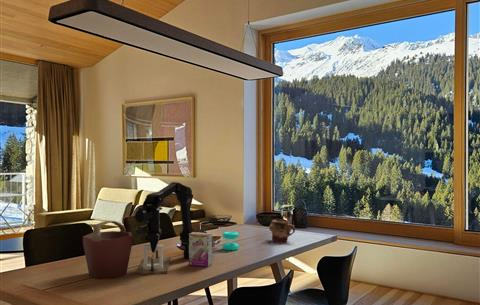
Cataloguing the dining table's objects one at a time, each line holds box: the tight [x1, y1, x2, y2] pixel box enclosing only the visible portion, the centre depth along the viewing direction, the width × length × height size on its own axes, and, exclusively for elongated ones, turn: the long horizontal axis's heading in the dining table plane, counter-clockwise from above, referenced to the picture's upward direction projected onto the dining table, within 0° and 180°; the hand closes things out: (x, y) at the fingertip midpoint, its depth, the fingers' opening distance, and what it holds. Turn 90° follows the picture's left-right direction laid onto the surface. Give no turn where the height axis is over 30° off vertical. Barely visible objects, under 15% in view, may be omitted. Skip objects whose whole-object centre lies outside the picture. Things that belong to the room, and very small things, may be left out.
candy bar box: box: [188, 231, 213, 268], centre depth 226 cm, size 11×5×16 cm, turn 71°
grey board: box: [136, 255, 171, 275], centre depth 224 cm, size 14×31×1 cm, turn 6°
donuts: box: [221, 231, 240, 251], centre depth 265 cm, size 10×10×10 cm
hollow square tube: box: [143, 244, 164, 269], centre depth 215 cm, size 9×5×11 cm, turn 96°
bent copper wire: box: [150, 250, 159, 271], centre depth 223 cm, size 1×29×9 cm, turn 6°
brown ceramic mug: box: [268, 219, 296, 243], centre depth 290 cm, size 20×12×14 cm, turn 56°
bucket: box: [82, 220, 134, 280], centre depth 208 cm, size 24×22×25 cm
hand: (153, 251), depth 215 cm, fingers closed on hollow square tube, 3 cm apart
